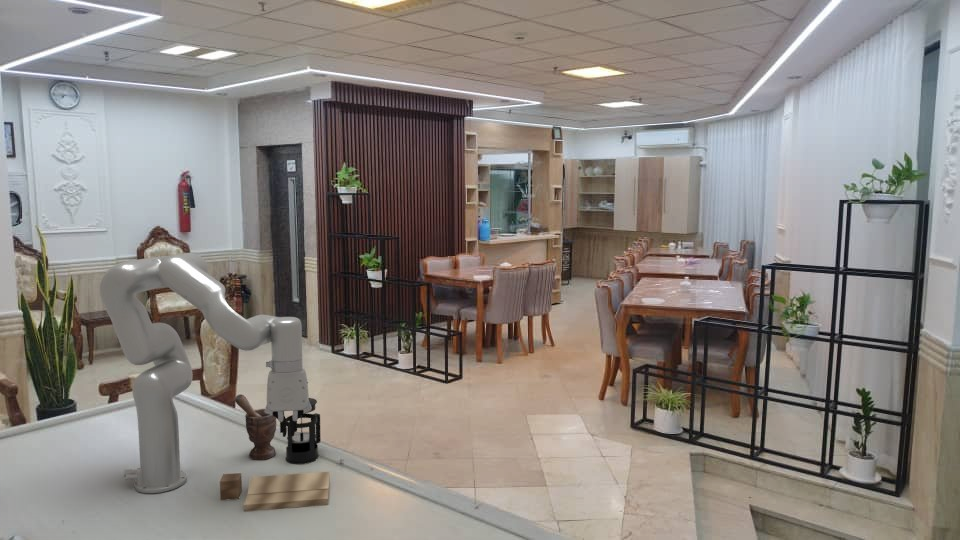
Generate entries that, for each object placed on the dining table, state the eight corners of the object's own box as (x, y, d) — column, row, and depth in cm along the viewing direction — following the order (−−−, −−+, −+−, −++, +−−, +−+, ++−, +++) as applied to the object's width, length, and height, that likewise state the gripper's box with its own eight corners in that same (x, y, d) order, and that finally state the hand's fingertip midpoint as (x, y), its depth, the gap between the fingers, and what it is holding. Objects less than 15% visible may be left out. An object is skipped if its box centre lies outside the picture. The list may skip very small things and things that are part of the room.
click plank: (247, 499, 168) (247, 494, 167) (251, 481, 174) (251, 476, 174) (328, 493, 172) (328, 488, 171) (329, 476, 178) (329, 471, 177)
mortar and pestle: (256, 467, 188) (254, 398, 185) (232, 462, 191) (230, 395, 189) (283, 452, 198) (281, 388, 196) (260, 448, 202) (258, 384, 199)
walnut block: (220, 500, 167) (219, 481, 167) (223, 492, 172) (223, 474, 171) (239, 499, 168) (238, 480, 168) (241, 491, 173) (241, 472, 172)
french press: (298, 467, 188) (296, 388, 185) (276, 459, 193) (274, 383, 190) (329, 454, 197) (328, 379, 195) (308, 447, 203) (306, 374, 200)
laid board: (244, 511, 162) (243, 504, 162) (247, 500, 167) (247, 494, 167) (328, 504, 166) (327, 498, 165) (328, 494, 171) (328, 488, 171)
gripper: (253, 370, 165) (255, 441, 167) (317, 368, 168) (319, 438, 170) (257, 363, 172) (259, 431, 174) (319, 360, 175) (320, 428, 177)
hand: (288, 434), depth 172 cm, fingers closed
